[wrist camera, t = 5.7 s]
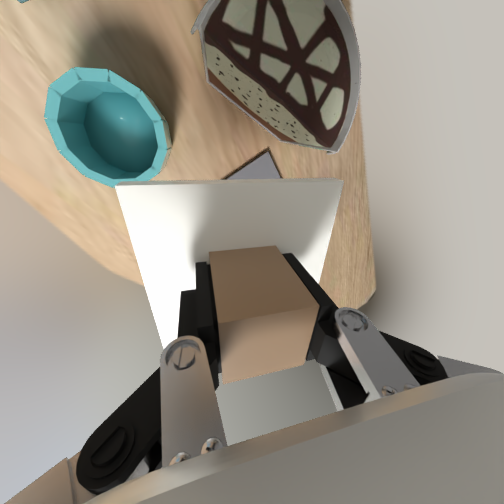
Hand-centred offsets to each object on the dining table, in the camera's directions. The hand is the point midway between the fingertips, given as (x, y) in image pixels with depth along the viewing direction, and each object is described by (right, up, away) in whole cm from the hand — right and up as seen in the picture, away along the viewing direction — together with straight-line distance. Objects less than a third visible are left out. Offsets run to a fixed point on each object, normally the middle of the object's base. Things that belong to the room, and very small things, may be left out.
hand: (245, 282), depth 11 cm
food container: (+1, +19, +10) cm, 21 cm away
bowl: (-12, +13, +9) cm, 20 cm away
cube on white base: (0, +1, +1) cm, 2 cm away
